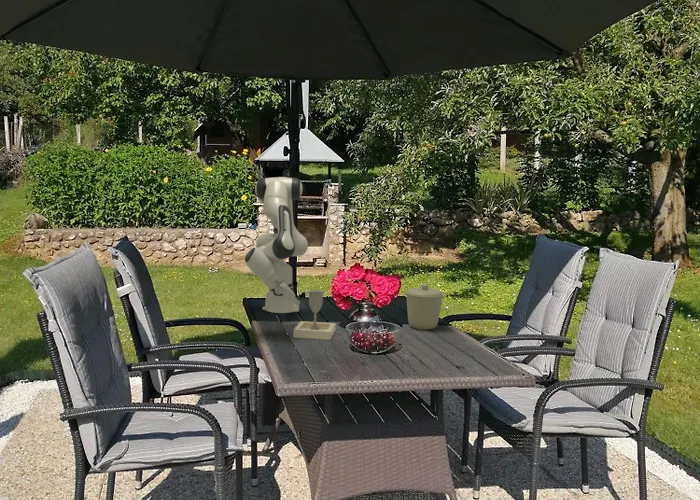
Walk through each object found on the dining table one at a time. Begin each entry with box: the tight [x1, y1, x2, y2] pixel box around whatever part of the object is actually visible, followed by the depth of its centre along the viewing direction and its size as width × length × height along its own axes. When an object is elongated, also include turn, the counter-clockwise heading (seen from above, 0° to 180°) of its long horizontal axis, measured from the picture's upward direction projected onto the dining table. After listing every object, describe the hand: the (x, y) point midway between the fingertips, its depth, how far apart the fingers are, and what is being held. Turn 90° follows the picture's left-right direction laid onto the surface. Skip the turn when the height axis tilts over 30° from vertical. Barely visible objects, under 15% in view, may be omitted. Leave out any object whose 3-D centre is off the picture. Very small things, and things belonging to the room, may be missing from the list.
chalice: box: [307, 289, 325, 330], centre depth 301 cm, size 7×7×18 cm
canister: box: [404, 282, 445, 331], centre depth 321 cm, size 18×18×21 cm
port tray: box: [293, 320, 337, 341], centre depth 302 cm, size 16×16×4 cm
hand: (296, 301), depth 298 cm, fingers open, 8 cm apart
